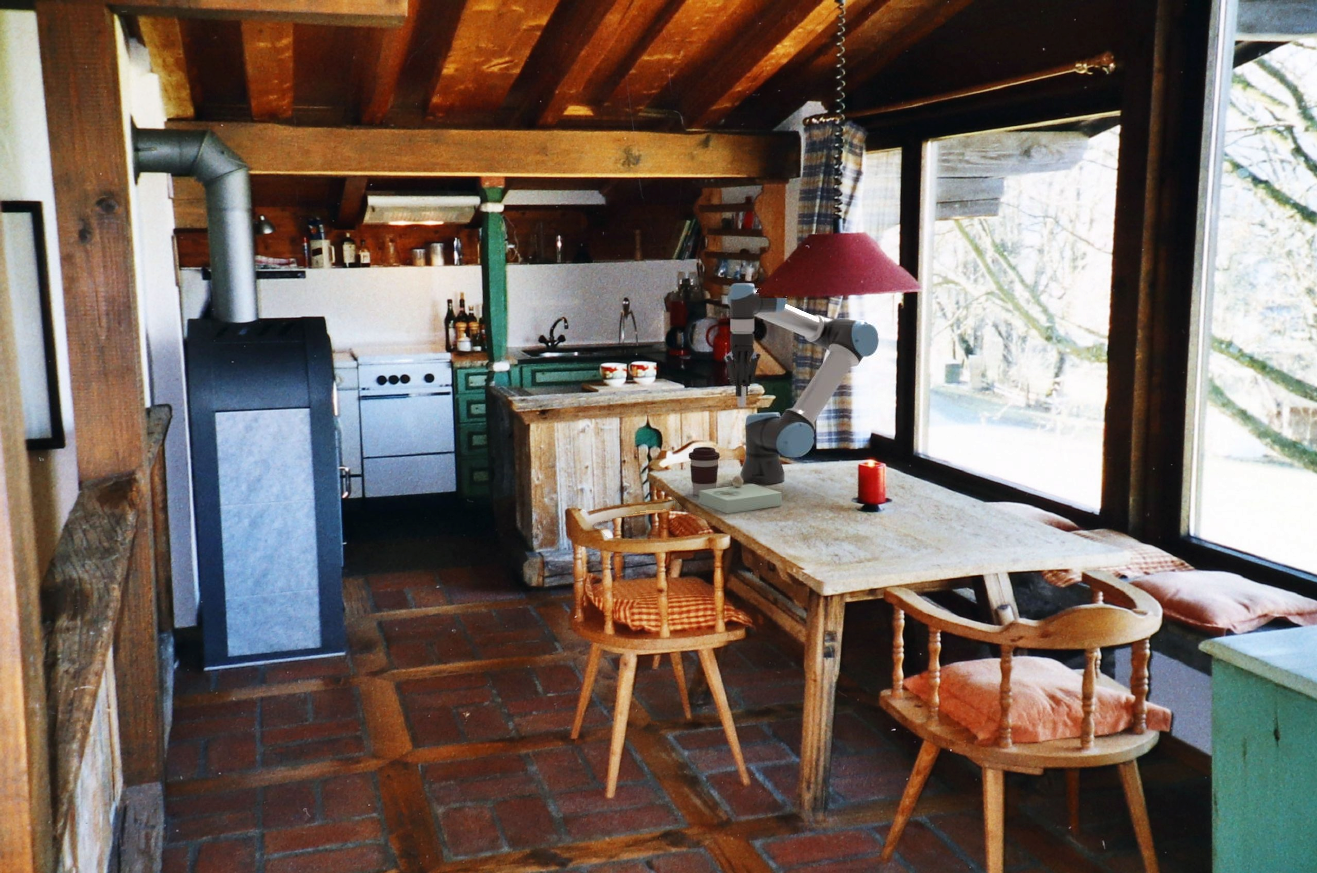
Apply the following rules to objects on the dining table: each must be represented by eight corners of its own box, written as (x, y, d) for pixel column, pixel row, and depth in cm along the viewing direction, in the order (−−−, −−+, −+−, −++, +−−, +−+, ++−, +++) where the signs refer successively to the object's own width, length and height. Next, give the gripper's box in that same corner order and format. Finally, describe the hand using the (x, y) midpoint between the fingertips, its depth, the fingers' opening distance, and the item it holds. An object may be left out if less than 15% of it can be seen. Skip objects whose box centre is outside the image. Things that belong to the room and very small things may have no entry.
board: (752, 495, 366) (752, 483, 366) (781, 505, 353) (781, 492, 352) (699, 503, 357) (699, 490, 356) (727, 513, 343) (727, 500, 342)
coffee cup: (720, 491, 374) (720, 446, 371) (718, 497, 364) (718, 451, 361) (689, 490, 374) (689, 445, 372) (687, 497, 365) (687, 451, 362)
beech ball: (739, 485, 363) (739, 474, 362) (745, 487, 360) (745, 476, 359) (730, 486, 361) (730, 475, 361) (736, 488, 358) (736, 477, 358)
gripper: (752, 330, 368) (752, 403, 372) (718, 332, 362) (718, 406, 365) (765, 332, 361) (765, 406, 365) (731, 334, 355) (731, 409, 359)
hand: (741, 406), depth 365 cm, fingers closed
